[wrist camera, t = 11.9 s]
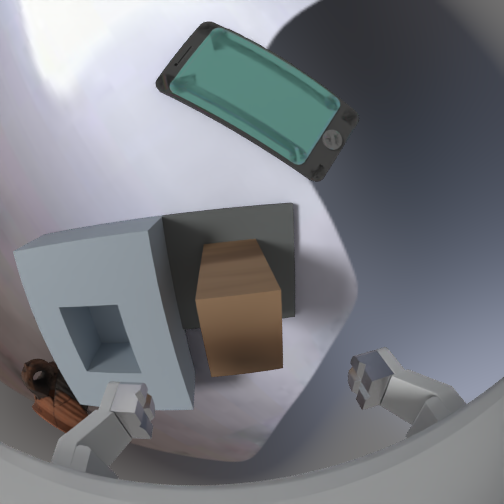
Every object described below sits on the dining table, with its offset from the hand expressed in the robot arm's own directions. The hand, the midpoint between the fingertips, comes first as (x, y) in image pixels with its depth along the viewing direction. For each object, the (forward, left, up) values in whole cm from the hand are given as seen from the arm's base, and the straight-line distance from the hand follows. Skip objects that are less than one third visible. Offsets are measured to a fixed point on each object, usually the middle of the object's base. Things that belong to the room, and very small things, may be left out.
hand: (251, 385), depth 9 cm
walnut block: (+1, 0, -13) cm, 13 cm away
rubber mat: (+1, 0, -14) cm, 14 cm away
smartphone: (-13, +3, -14) cm, 20 cm away
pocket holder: (+4, -11, -14) cm, 18 cm away
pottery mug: (+13, -21, -14) cm, 29 cm away
